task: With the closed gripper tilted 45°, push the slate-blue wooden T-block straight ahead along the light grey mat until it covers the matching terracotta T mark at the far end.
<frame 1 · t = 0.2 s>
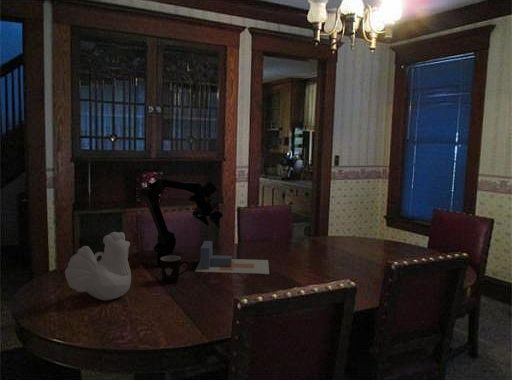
hand: (213, 226, 224), 15 cm above the table, tool tilted 30°, fingers open, 9 cm apart
decorative rooster: (98, 298, 161), on the table
coffee mug: (173, 282, 181), on the table
t block: (216, 264, 205), resting on t mat
t mat: (233, 266, 205), on the table
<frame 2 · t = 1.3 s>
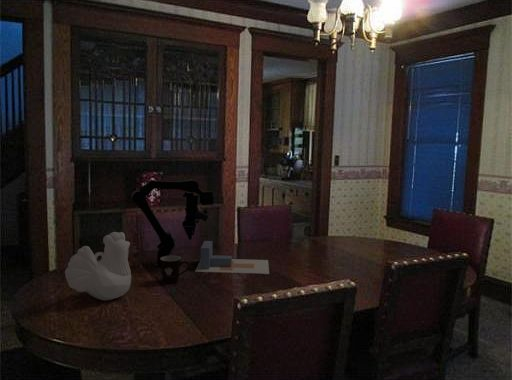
hand: (191, 237, 207), 13 cm above the table, tool pointing down, fingers open, 9 cm apart
nothing on the table moved.
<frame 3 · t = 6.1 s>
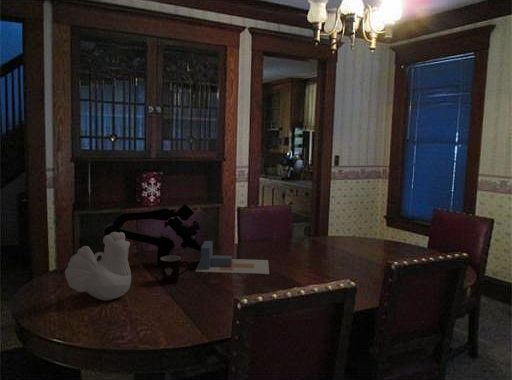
hand: (202, 250, 205), 7 cm above the table, tool tilted 45°, fingers closed, pressing on t block
t block: (217, 264, 205), resting on t mat, touching gripper
everything else where it was.
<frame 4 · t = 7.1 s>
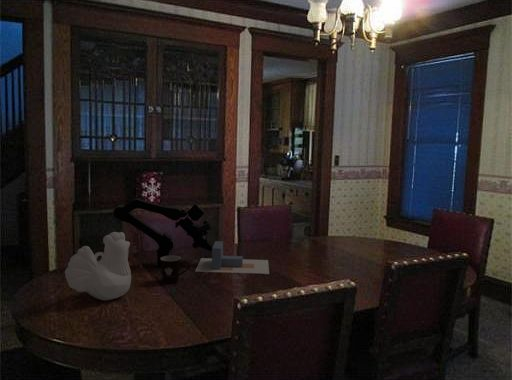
hand: (213, 250, 204), 7 cm above the table, tool tilted 45°, fingers closed, pressing on t block
t block: (227, 265, 205), resting on t mat, touching gripper
everything else where it was.
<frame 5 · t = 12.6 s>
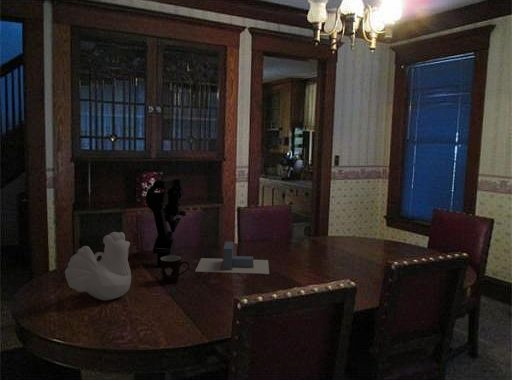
hand: (172, 232, 216), 13 cm above the table, tool pointing down, fingers closed
t block: (238, 265, 205), resting on t mat
everything else where it was.
at the end: t block 0.5 cm from the target spot on the t mat, point 0.4 cm above the t mat's base; t block tilted 0° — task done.
